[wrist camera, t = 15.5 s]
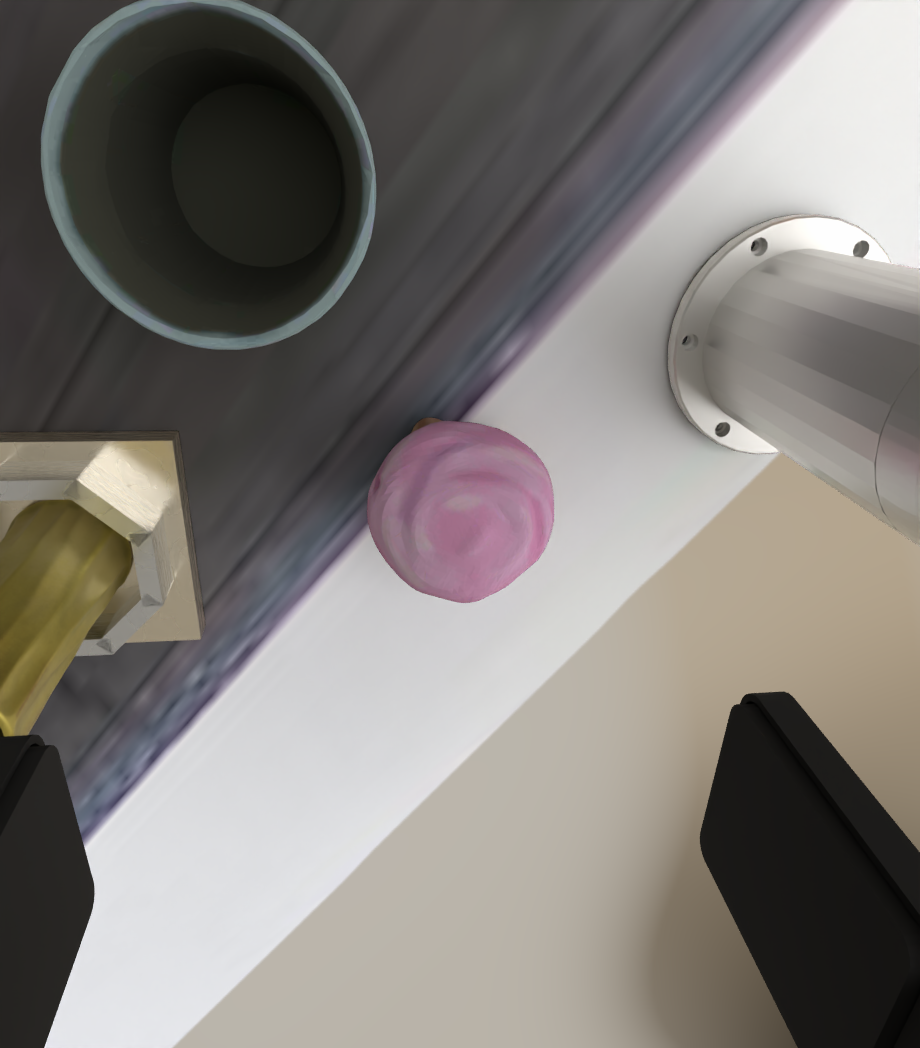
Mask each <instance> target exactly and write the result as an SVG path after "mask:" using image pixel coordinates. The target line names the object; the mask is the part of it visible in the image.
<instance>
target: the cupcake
mask: <svg viewBox="0 0 920 1048" xmlns="http://www.w3.org/2000/svg"><path fill="white" fill-rule="evenodd" d="M367 518H368V524H369V528H370V532H371V535H372V538H373V540H374V542H375V545H376V547H377V548H378V550H379V552H380V553H381V555H382V556H383V558H384V559H385V561H386V562H387V563H388V564H389V566H390V567H391V568H392V569H393V570H394V571H395V572H396V574H397V575H398V576H399V577H400V578H401V579H402V580H403V581H405V582H406V583H407V584H408V585H409V586H411V587H412V588H414V589H415V590H417V591H419V592H422V593H425V594H428V595H432V596H436V597H439V598H443V599H447V600H450V601H454V602H459V603H470V602H475V601H479V600H481V599H484V598H485V597H487V596H489V595H491V594H494V593H496V592H498V591H500V590H501V589H503V588H505V587H506V586H508V585H509V584H510V583H511V582H513V581H514V580H515V579H516V578H517V577H518V576H520V575H521V574H522V573H523V572H524V571H526V570H527V569H528V568H529V567H530V566H531V565H533V564H534V563H535V562H536V561H537V560H538V559H539V557H540V556H541V554H542V553H543V551H544V549H545V547H546V545H547V543H548V541H549V538H550V535H551V531H552V527H553V522H554V497H553V489H552V483H551V480H550V476H549V474H548V471H547V469H546V467H545V466H544V464H543V462H542V461H541V459H540V458H539V457H538V456H537V454H536V453H535V452H533V451H532V450H531V449H530V448H529V447H528V446H527V445H525V444H524V443H523V442H521V441H520V440H518V439H517V438H515V437H514V436H512V435H510V434H509V433H507V432H505V431H502V430H500V429H497V428H493V427H489V426H486V425H482V424H477V423H470V422H458V421H441V420H439V419H436V418H424V419H421V420H420V421H419V422H418V423H417V424H416V425H415V426H414V428H413V429H412V432H411V434H409V435H408V436H406V437H405V438H403V439H402V440H401V441H400V442H399V443H398V444H397V445H396V446H394V447H393V449H392V450H391V451H390V453H389V454H388V455H387V456H386V458H385V460H384V461H383V463H382V465H381V466H380V468H379V470H378V472H377V474H376V476H375V478H374V480H373V482H372V484H371V486H370V489H369V494H368V502H367Z"/></svg>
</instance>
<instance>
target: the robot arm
mask: <svg viewBox="0 0 920 1048" xmlns="http://www.w3.org/2000/svg"><path fill="white" fill-rule="evenodd" d="M753 241H754V242H755V246H754V248H753V249H752V250H751V245H752V243H753ZM853 248H854V249H853ZM686 336H687V338H688V339H687V341H686V342H685V343H683V344H682V342H683V339H684V338H685V337H686ZM668 371H669V376H670V382H671V388H672V390H673V393H674V395H675V398H676V400H677V403H678V405H679V407H680V408H681V410H682V411H683V413H684V414H685V416H686V417H687V419H688V420H689V421H690V422H691V423H692V424H693V425H694V426H695V427H696V428H697V429H698V430H700V431H701V432H702V433H703V434H704V435H705V436H707V437H708V438H710V439H711V440H712V441H714V442H715V443H717V444H720V445H722V446H724V447H727V448H729V449H731V450H734V451H739V452H744V453H750V454H773V453H779V452H782V453H783V454H785V455H786V456H788V457H789V458H791V459H792V460H793V461H795V462H796V463H798V464H799V465H801V466H802V467H804V468H805V469H806V470H808V471H810V472H811V473H813V474H814V475H815V476H817V477H818V478H820V479H821V480H823V481H824V482H826V483H827V484H829V485H830V486H831V487H833V488H834V489H836V490H837V491H838V492H840V493H841V494H843V495H844V496H846V497H847V498H849V499H850V500H852V501H853V502H854V503H856V504H858V505H859V506H860V507H862V508H863V509H865V510H866V511H868V512H869V513H871V514H872V515H873V516H875V517H876V518H878V519H879V520H881V521H882V522H884V523H885V524H887V525H888V526H889V527H891V528H892V529H894V530H895V531H897V532H899V533H900V534H902V535H903V536H905V537H906V538H908V539H909V540H911V541H912V542H914V543H915V544H917V545H918V546H920V269H918V268H913V267H907V266H902V265H897V264H892V263H891V261H890V259H889V257H888V254H887V253H886V252H885V251H884V249H883V248H882V247H881V246H880V244H879V243H878V242H877V241H876V239H875V238H873V237H872V236H871V235H869V234H868V233H867V232H865V231H864V230H863V229H861V228H860V227H859V226H857V225H854V224H852V223H849V222H847V221H844V220H842V219H840V218H835V217H829V216H823V215H806V214H796V215H790V216H785V217H779V218H774V219H771V220H769V221H766V222H764V223H761V224H759V225H756V226H754V227H751V228H750V229H748V230H746V231H745V232H743V233H742V234H740V235H738V236H737V237H735V238H733V239H732V240H730V241H729V242H728V243H727V244H726V245H724V246H723V247H722V248H721V249H720V250H719V251H718V252H716V253H715V254H714V255H713V256H712V257H711V258H710V259H709V260H708V262H707V263H706V264H705V265H704V266H703V268H702V269H701V270H700V271H699V272H698V274H697V275H696V276H695V277H694V279H693V281H692V282H691V284H690V286H689V288H688V289H687V291H686V293H685V294H684V296H683V298H682V300H681V302H680V305H679V307H678V310H677V313H676V315H675V318H674V320H673V324H672V329H671V334H670V339H669V344H668ZM718 424H719V426H718V427H717V428H716V426H717V425H718ZM700 845H701V851H702V854H703V857H704V860H705V862H706V864H707V866H708V868H709V870H710V872H711V874H712V876H713V878H714V880H715V882H716V884H717V886H718V888H719V890H720V892H721V894H722V896H723V898H724V900H725V902H726V904H727V906H728V908H729V910H730V912H731V914H732V916H733V918H734V920H735V922H736V924H737V926H738V929H739V931H740V932H741V935H742V937H743V939H744V941H745V943H746V945H747V947H748V948H749V951H750V953H751V954H752V957H753V959H754V960H755V963H756V965H757V967H758V969H759V970H760V973H761V975H762V977H763V979H764V981H765V983H766V985H767V987H768V989H769V991H770V993H771V995H772V997H773V999H774V1001H775V1003H776V1005H777V1007H778V1009H779V1011H780V1013H781V1015H782V1017H783V1019H784V1021H785V1023H786V1025H787V1027H788V1029H789V1031H790V1033H791V1035H792V1037H793V1039H794V1041H795V1043H796V1045H797V1047H798V1048H920V852H919V851H918V850H917V848H916V847H915V846H914V845H913V844H912V843H911V841H910V840H909V839H908V837H907V836H906V835H905V834H904V833H903V831H902V830H901V829H900V828H899V826H898V825H897V824H896V823H895V821H894V820H893V819H892V818H891V817H890V815H889V814H888V813H887V812H886V810H884V808H883V807H882V806H881V804H880V803H879V802H878V801H877V799H876V798H875V797H874V796H873V795H872V793H871V792H870V791H869V790H868V788H867V787H866V786H865V785H864V783H863V782H862V781H861V780H860V778H859V777H858V776H857V775H856V774H855V772H854V771H853V770H852V769H851V767H850V766H849V765H848V764H847V763H846V761H845V760H844V759H843V758H842V756H841V755H840V754H839V753H838V751H837V750H836V749H835V748H834V747H833V745H832V744H831V743H830V742H829V740H828V739H827V738H826V737H825V736H824V734H823V733H822V732H821V731H820V730H819V728H818V727H817V726H816V724H815V723H814V722H813V721H812V720H811V718H810V717H809V716H808V715H807V713H806V712H805V711H804V710H803V709H802V707H801V706H800V705H799V704H798V702H797V701H796V700H795V699H794V698H793V697H792V696H791V695H790V694H789V693H786V692H769V693H751V694H746V695H745V696H744V697H743V698H742V700H741V703H740V704H737V705H734V706H733V707H732V709H731V712H730V716H729V719H728V723H727V727H726V732H725V735H724V740H723V744H722V748H721V752H720V756H719V760H718V764H717V768H716V772H715V776H714V780H713V784H712V788H711V792H710V796H709V800H708V804H707V808H706V812H705V817H704V820H703V824H702V828H701V832H700ZM93 903H94V882H93V878H92V875H91V871H90V867H89V863H88V860H87V856H86V852H85V849H84V845H83V841H82V838H81V834H80V830H79V826H78V823H77V819H76V815H75V812H74V808H73V804H72V800H71V797H70V793H69V789H68V786H67V782H66V778H65V775H64V771H63V767H62V763H61V760H60V756H59V753H58V750H57V748H56V747H55V746H54V745H46V746H45V744H44V742H43V739H42V738H41V737H40V736H39V735H22V736H4V737H0V1048H44V1046H45V1044H46V1041H47V1038H48V1035H49V1032H50V1029H51V1027H52V1024H53V1021H54V1018H55V1015H56V1012H57V1010H58V1007H59V1004H60V1001H61V998H62V995H63V992H64V990H65V987H66V984H67V981H68V978H69V975H70V973H71V970H72V967H73V964H74V961H75V958H76V956H77V953H78V950H79V947H80V944H81V941H82V938H83V936H84V933H85V930H86V927H87V924H88V921H89V919H90V916H91V912H92V909H93Z"/></svg>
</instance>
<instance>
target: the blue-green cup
mask: <svg viewBox="0 0 920 1048" xmlns="http://www.w3.org/2000/svg"><path fill="white" fill-rule="evenodd" d="M41 168H42V175H43V182H44V189H45V195H46V199H47V202H48V205H49V209H50V212H51V216H52V218H53V220H54V223H55V225H56V227H57V229H58V232H59V234H60V236H61V238H62V241H63V243H64V245H65V247H66V248H67V250H68V252H69V253H70V255H71V257H72V258H73V260H74V262H75V263H76V264H77V266H78V267H79V269H80V270H81V271H82V273H83V274H84V275H85V276H86V278H87V279H88V280H89V281H90V282H91V284H92V285H93V286H94V287H95V288H96V289H97V290H98V291H99V292H100V293H101V294H102V295H103V296H104V297H105V298H106V299H107V300H108V301H109V302H110V303H111V304H112V305H113V306H115V307H116V308H117V309H118V310H120V311H121V312H123V313H124V314H126V315H127V316H129V317H130V318H131V319H133V320H134V321H136V322H137V323H139V324H140V325H142V326H143V327H145V328H147V329H149V330H151V331H153V332H155V333H157V334H159V335H161V336H163V337H166V338H169V339H172V340H175V341H177V342H180V343H183V344H187V345H191V346H195V347H201V348H208V349H217V350H241V349H248V348H254V347H261V346H265V345H268V344H272V343H275V342H278V341H280V340H283V339H285V338H287V337H290V336H292V335H294V334H297V333H299V332H300V331H302V330H303V329H305V328H306V327H308V326H309V325H311V324H312V323H314V322H315V321H317V320H318V319H320V318H321V317H322V316H323V315H324V314H325V313H326V312H327V311H328V310H329V309H330V308H331V307H332V306H333V305H334V304H335V303H336V302H337V300H338V299H339V298H340V297H341V295H342V294H343V292H344V291H345V289H346V288H347V287H348V285H349V284H350V282H351V281H352V279H353V278H354V276H355V274H356V272H357V270H358V268H359V266H360V265H361V263H362V261H363V259H364V256H365V253H366V251H367V248H368V245H369V242H370V239H371V234H372V228H373V223H374V217H375V205H376V174H375V167H374V161H373V155H372V149H371V145H370V142H369V139H368V135H367V132H366V129H365V126H364V123H363V121H362V118H361V116H360V114H359V111H358V109H357V107H356V105H355V103H354V101H353V99H352V98H351V96H350V94H349V92H348V90H347V88H346V87H345V85H344V84H343V82H342V81H341V80H340V78H339V77H338V75H337V74H336V72H335V71H334V69H333V68H332V67H331V66H330V65H329V64H328V62H327V61H326V60H325V59H324V58H323V56H322V55H321V54H320V53H319V52H318V51H317V50H316V49H315V48H314V47H313V46H312V45H311V44H310V43H309V42H308V41H306V40H305V39H304V38H303V37H302V36H301V35H299V34H298V33H297V32H296V31H295V30H293V29H292V28H290V27H289V26H287V25H286V24H285V23H283V22H282V21H280V20H279V19H277V18H276V17H274V16H273V15H271V14H269V13H267V12H264V11H262V10H260V9H258V8H256V7H253V6H251V5H249V4H247V3H245V2H242V1H239V0H141V1H137V2H135V3H133V4H130V5H128V6H126V7H123V8H121V9H120V10H118V11H116V12H115V13H113V14H111V15H110V16H109V17H107V18H106V19H104V20H103V21H102V22H100V23H99V24H97V25H96V26H95V27H93V28H92V29H91V30H90V31H89V32H88V34H87V35H86V36H85V37H84V38H83V39H82V40H81V41H80V42H79V44H78V45H77V46H76V47H75V49H74V50H73V52H72V53H71V55H70V57H69V59H68V61H67V63H66V65H65V67H64V68H63V70H62V72H61V74H60V76H59V78H58V80H57V82H56V84H55V85H54V87H53V89H52V91H51V93H50V95H49V99H48V103H47V108H46V113H45V118H44V123H43V128H42V133H41Z"/></svg>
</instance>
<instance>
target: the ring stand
mask: <svg viewBox="0 0 920 1048" xmlns="http://www.w3.org/2000/svg"><path fill="white" fill-rule="evenodd" d="M66 499H68V500H73V501H74V502H75V503H77V504H78V505H80V506H81V507H82V508H84V509H85V510H87V511H88V512H90V513H91V514H92V515H94V516H95V517H97V518H98V519H99V520H101V521H102V522H104V523H105V524H106V525H108V526H109V527H111V528H112V529H113V530H115V531H116V532H118V533H119V534H121V535H122V536H123V537H125V538H126V539H128V542H129V545H130V549H131V567H130V571H129V574H128V576H127V578H126V581H125V582H124V584H123V585H122V586H120V587H119V588H118V590H117V591H116V593H115V594H114V596H113V597H112V599H111V600H110V602H109V603H108V605H107V606H106V608H105V609H104V611H103V612H102V613H101V615H100V616H99V617H98V619H97V620H96V621H95V623H94V624H93V625H92V627H91V628H90V630H89V631H88V633H87V635H86V637H85V639H84V641H83V642H82V644H81V646H80V648H79V650H78V651H77V653H76V655H75V656H91V655H113V654H114V653H115V652H116V651H117V650H118V649H119V648H120V647H121V646H122V645H123V644H124V643H131V642H154V641H177V640H200V639H201V638H202V634H203V631H204V628H205V625H206V624H205V617H204V610H203V603H202V595H201V588H200V581H199V574H198V567H197V559H196V552H195V545H194V538H193V531H192V523H191V516H190V509H189V502H188V495H187V487H186V480H185V473H184V466H183V459H182V451H181V444H180V437H179V431H105V432H0V542H1V541H2V539H3V538H4V537H5V535H6V533H7V531H8V528H9V526H10V524H11V522H12V521H13V519H14V518H15V517H16V516H17V515H18V514H19V513H20V512H21V511H22V510H24V509H25V508H27V507H29V506H31V505H33V504H35V503H38V502H41V501H45V500H66Z"/></svg>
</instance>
